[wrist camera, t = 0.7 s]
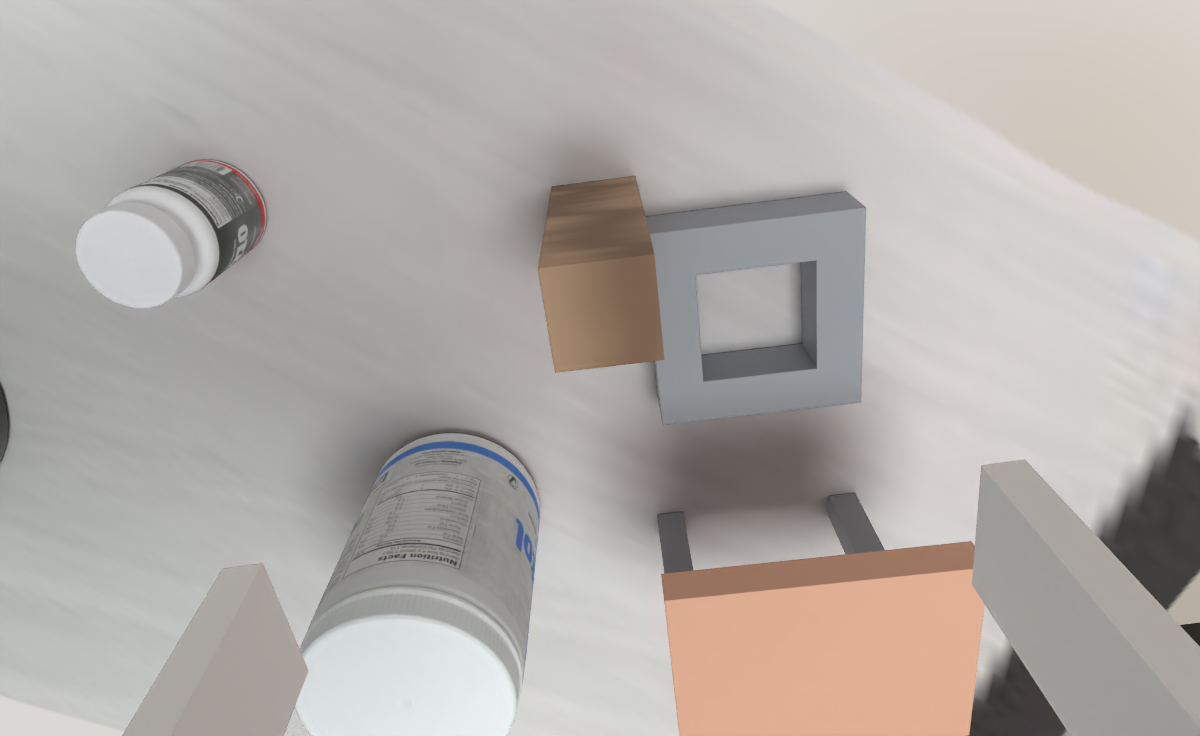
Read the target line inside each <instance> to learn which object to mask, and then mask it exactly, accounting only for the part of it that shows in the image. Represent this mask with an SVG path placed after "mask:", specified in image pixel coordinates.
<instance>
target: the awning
mask: <svg viewBox="0 0 1200 736" xmlns="http://www.w3.org/2000/svg"><path fill="white" fill-rule="evenodd" d="M657 517H658V526H659V535H660V543H661V551H662V558H663V566H664V574H661V576H662V585H663V594H664V603H665V612H666V620H667V629H668V638H669V647H670V656H671V664H672V673H673V682H674V691H675V700H676V709H677V717H678V726H679V735H680V736H967V735H969V731H970V722H971V714H972V706H973V697H974V689H975V680H976V672H977V664H978V655H979V647H980V638H981V630H982V622H983V613H984V605H985V604H984V602H983V601H982V599H981V598H980V596H979V595H978V593H977V592H976V590H975V589H974V587H973V586H972V576H973V563H974V551H975V546H974V545H973V543H972V542H971V541H970V542H960V543H951V544H941V545H932V546H922V547H913V548H903V549H894V550H884V548H883V546H882V544H881V542H880V540H879V538H878V536H877V534H876V532H875V530H874V529H873V527H872V525H871V523H870V521H869V519H868V517H867V515H866V513H865V511H864V509H863V507H862V506H861V504H860V502H859V500H858V498H857V496H856V494H855V493H851V494H842V495H833V496H829V518H830V520H831V523H832V525H833V527H834V529H835V532H836V534H837V536H838V538H839V540H840V543H841V545H842V547H843V549H844V552H845V554H846V555H837V556H827V557H818V558H808V559H799V560H790V561H780V562H771V563H761V564H752V565H742V566H733V567H723V568H714V569H704V570H695V571H693V566H692V561H691V555H690V549H689V544H688V538H687V533H686V527H685V521H684V516H683V512H676V513H667V514H657Z"/></svg>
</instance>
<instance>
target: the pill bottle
mask: <svg viewBox="0 0 1200 736" xmlns="http://www.w3.org/2000/svg"><path fill="white" fill-rule="evenodd" d="M266 220H267V215H266V208H265V204H264V201H263V198H262V196H261V194H260V193H259V191H258V189H257V188H256V186H255V185H254V184H253V182H252V181H251V180H250V179H249V178H248V177H247V176H246V175H245V174H244V173H242V172H241V171H240V170H238V169H237V168H235V167H233V166H231V165H229V164H226V163H223V162H220V161H215V160H196V161H192V162H189V163H186V164H183V165H182V166H180V167H178V168H175V169H173V170H171V171H169V172H167V173H165V174H162V175H160V176H158V177H155V178H153V179H151V180H149V181H146V182H144V183H142V184H139V185H137V186H135V187H132V188H130V189H128V190H125V191H124V192H122V193H120V194H119V195H117V196H116V197H114V198H113V199H112V200H111V201H110V202H109V203H108V204H107V205H106V207H105V209H104V210H102V211H101V212H99V213H97V214H96V215H94V216H92V217H91V218H90V219H88V220H87V221H86V222H85V223H84V224H83V226H82V227H81V228H80V230H79V233H78V235H77V238H76V246H75V249H76V257H77V261H78V264H79V267H80V269H81V271H82V273H83V274H84V276H85V277H86V279H87V280H88V281H89V283H90V284H91V285H92V286H93V287H94V288H95V289H96V290H97V291H98V292H100V293H101V294H102V295H104V296H105V297H107V298H108V299H110V300H112V301H113V302H116V303H118V304H121V305H124V306H127V307H131V308H152V307H156V306H159V305H162V304H164V303H166V302H167V301H169V300H170V299H172V298H178V297H184V296H187V295H190V294H192V293H195V292H197V291H198V290H200V289H202V288H204V287H205V286H206V285H208V284H209V283H210V282H211V281H212V280H214V279H215V278H216V277H217V276H218V275H220V274H221V273H222V272H224V271H225V270H226V269H227V268H229V267H230V266H231V265H232V264H234V263H235V262H236V261H237V260H239V259H240V258H241V257H242V256H244V255H245V254H246V253H248V252H249V251H250V250H252V248H254V247H255V246H256V245H257V243H258V242H259V241H260V239H261V238H262V236H263V234H264V231H265V227H266Z"/></svg>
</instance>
